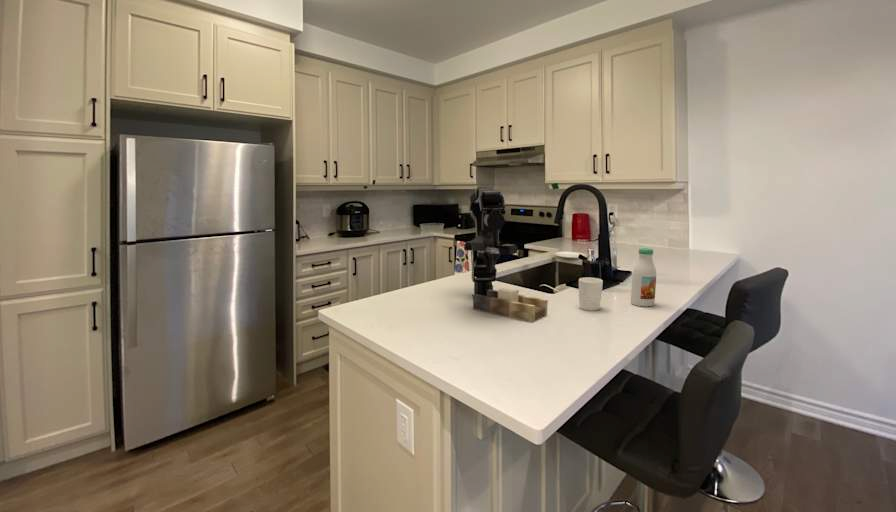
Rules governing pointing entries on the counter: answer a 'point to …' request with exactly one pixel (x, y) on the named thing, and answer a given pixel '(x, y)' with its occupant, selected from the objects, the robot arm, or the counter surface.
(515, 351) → the counter surface
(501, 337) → the counter surface
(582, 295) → the white cup
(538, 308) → the channel
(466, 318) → the counter surface
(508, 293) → the cream block
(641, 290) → the milk bottle
